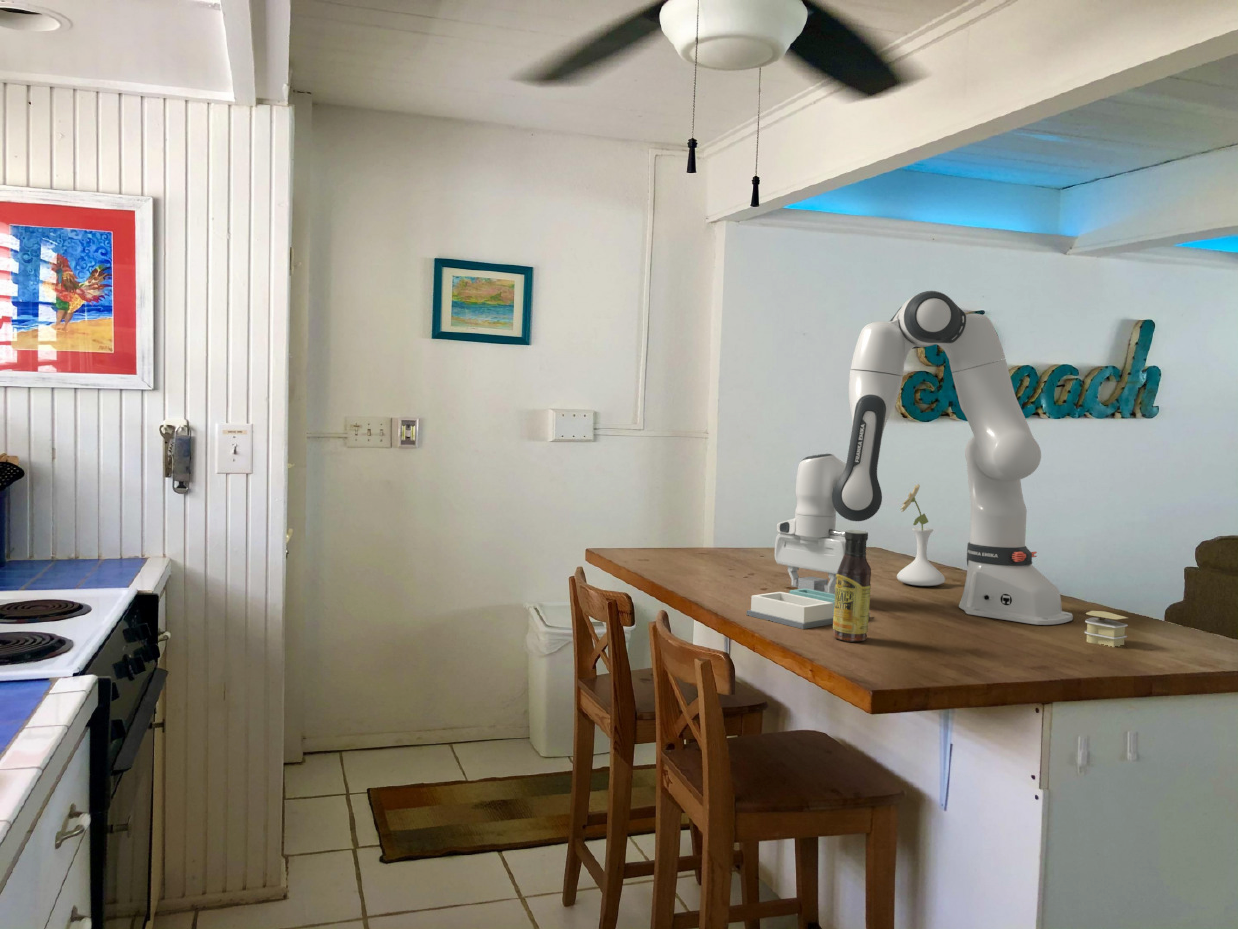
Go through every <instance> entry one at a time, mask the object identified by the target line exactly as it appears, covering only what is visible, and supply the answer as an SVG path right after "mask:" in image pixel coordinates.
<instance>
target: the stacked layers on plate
mask: <svg viewBox="0 0 1238 929" xmlns="http://www.w3.org/2000/svg"><path fill="white" fill-rule="evenodd" d="M1085 614H1086V615H1088V616H1093V617H1089V618H1087V619H1085V621H1084V622H1085V623H1086V624H1087V625H1086V630H1084V634H1086V642H1087V643H1090V644H1095V645H1101V644H1104V645H1103V646H1105V645H1108V646H1107V647H1110V646H1112V647H1111V648H1116V647H1115V646H1118V647H1121V646H1120V645H1124V646H1125V638H1127V637H1128V635H1126V634H1125V633H1126V627H1128V624H1127V623H1122V622H1120V621H1115V620H1122V619H1128V617H1126V616H1123V615H1119V614H1116V613H1112V612H1108V611H1105V610H1104V611H1101V610H1090V611H1087V612H1086V613H1085Z"/></svg>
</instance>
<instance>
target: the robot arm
mask: <svg viewBox="0 0 1238 929" xmlns="http://www.w3.org/2000/svg"><path fill="white" fill-rule="evenodd" d="M934 345H937V346H939V347H940V348H941V349H942V350H943V351H944V352H945V355H946V358H947V359H948V361H949V367H950V371H951V375H952V379H953V383H954V387H955V392H956V395H957V399H958V402H959V406H960V409H961V411H962V413H963V414H964V416H965V418H966V420H967V422H968V425H969V427H970V428H971V432H972V436H971V437H970V439H968V441H967V443H966V445H965V450H964V457H965V462H966V466H967V470H966V471H967V479H968V480H967V483H968V489H969V498H970V499H969V500H970V522H969V523H970V525H969V526H970V529H969V542H968V543H967V547H966V548H967V549H966V565H967V569H966V570H967V571H966V578H965V584H964V588H963V592H962V597H961V599H960V602H959V604H958V607H959V608H960V609H961V610H963V611H964V612H965V614H967V615H971V616H972V615H973V616H977V617H983V618H984V617H985V618H991V619H998V620H1005V621H1011V622H1018V623H1023V624H1031V625H1037V626H1039V625H1040V626H1042V625H1043V626H1049V625H1061V624H1064V623H1068V622H1071V621H1072V620H1073V619H1074V616H1073V614H1072V612H1067V611H1063V608H1062V598H1061V593H1060V591H1059V589H1058V587H1057V586H1056V585H1055V584H1054V583H1053V582H1052V581H1050V580H1049V579H1048V578H1047V577H1046V576H1044V575H1043V573H1042V572H1040V570H1038V569H1037V568H1036V567H1035V566H1034V565H1033V558H1036V557H1037V555H1035V554H1038V552H1037V551H1031V550H1030V549H1029V548H1028V547H1027V545H1026V532H1027V530H1026V528H1027V512H1028V511H1027V507H1026V504H1025V500H1024V496H1023V489H1022V483H1021V480H1023V479H1025V478H1027V477H1029V476H1030V475H1032V474H1034V472H1035V471H1036V470H1037V469H1038V467H1039V465H1040V463H1041V459H1042V451H1041V447H1040V445H1039V443H1038V442H1037V440H1036V439H1035V437H1034V435H1033V433H1032V431H1031V428H1030V426H1029V423H1028V421H1027V419H1026V417H1025V415H1024V413H1023V410H1022V408H1021V405H1020V404H1019V401H1018V399H1017V396H1016V393H1015V389H1014V386H1013V381H1012V379H1011V376H1010V371H1009V367H1008V363H1007V360H1006V355H1005V353H1004V352H1005V351H1004V349H1003V346H1002V342H1001V340H1000V338H999V335H998V333H997V331H996V329H995V326H994V324H993V323H992V321H991V319H990V318H989V317H988V316H986V315H985V314H980V313H967V314H966V313H965V312H964V311H963V309H962V308H960V307H959V306H958V305H957V303H956V302H955V301H954V300H953V299H951V297H949V296H948V295H946V294H945V293H943V292H940V291H936V290H926V291H922V292H919V293H917V294H915V295H913V296H911V297H910V298H908V299H907V300H906V301H905V302H904V303H903V304H902V305H901V306H900V307H899V309H898V310H897V311H896V313H895V314H894V315H893V316H892V318H890V320H889V321H885V320H877V321H873V322H870V323H868V324H866V325H865V326H864V327H863V328H862V329H861V331H860V333H859V335H858V339H857V340H856V344H855V348H854V350H853V353H852V354H853V356H852V360H851V365H850V370H849V377H848V403H849V408H850V409H849V410H850V415H851V433H850V440H849V446H848V450H847V451H848V453H847V460H846V462H844V461H842V460H840V459H839V458H837V457H836V456H835V455H834V454H832V453H821V454H813V455H809V456H806V457H804V458H803V459H802V460H801V461H800V462H799V464H798V466H797V467H798V468H797V472H796V479H795V482H796V483H795V497H796V507H795V510H794V518H790V519H787V520H784V521H781V522H778V523H777V524H776V531H777V532H778V534H777V535H776V537H775V541H774V559H775V562H776V564H777V565H783V566H787V573H788V574H789V577H790V579H791V584H790V586H791V587H794V588H798V578H800V576H799V573H798V571H799V569H805V570H811V571H816V572H821V573H826V574H828V578H827V579H829V580H828V585H824V588H825V590H824V592H826V593H831V594H835V586H836V574H837V571H838V569H839V566H840V563H841V561H842V558H843V556H844V552H845V542H846V540H845V532H846V531H844V530H843V531H840V530H836V518H837V517H836V516H837V514H839V516H841V517H842V518H843V519H846V520H848V521H851V522H863V521H867V520H869V519H871V518H873V517H874V516H875V515H876V514H877V513H878V511H880V510H879V509H880V507H881V505H882V502H883V494H882V488H881V485H880V483H879V482H880V481H879V479H878V464H879V458H880V452H881V445H882V439H883V434H884V431H885V427H886V424H887V422H888V421H889V418H890V416H891V414H892V412H893V410H894V408H895V406H896V404H897V401H898V399H899V398H898V397H899V396H900V392H901V388H902V382H903V378H904V377H903V376H904V369H905V362H906V360H907V356H908V354H909V353H910V351H911V350H913V349H921V348H925V347H931V346H934Z"/></svg>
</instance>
